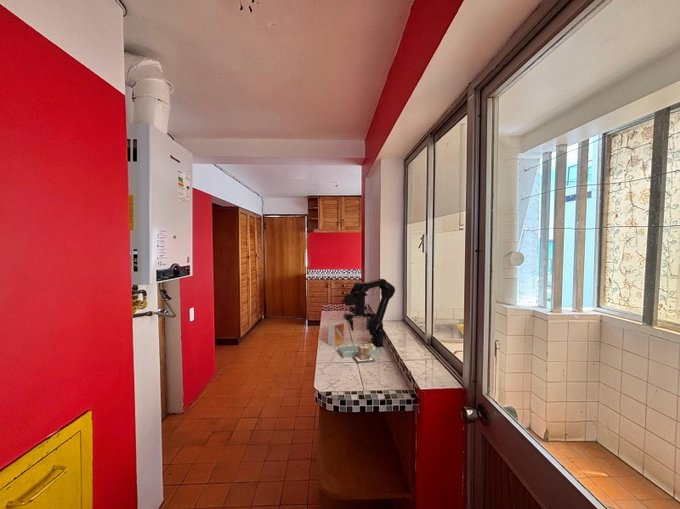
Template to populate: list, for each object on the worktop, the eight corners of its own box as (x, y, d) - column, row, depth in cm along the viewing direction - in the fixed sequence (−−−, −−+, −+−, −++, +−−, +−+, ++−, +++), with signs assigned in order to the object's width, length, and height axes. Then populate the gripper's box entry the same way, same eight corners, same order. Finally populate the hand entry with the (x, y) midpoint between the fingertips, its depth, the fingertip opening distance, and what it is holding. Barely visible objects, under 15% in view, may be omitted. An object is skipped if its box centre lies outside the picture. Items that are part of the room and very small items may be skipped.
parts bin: (372, 348, 185) (372, 344, 185) (379, 354, 175) (379, 349, 175) (337, 351, 179) (337, 347, 179) (343, 357, 168) (343, 353, 168)
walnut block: (366, 356, 168) (366, 345, 168) (369, 359, 164) (369, 348, 164) (357, 357, 167) (358, 346, 167) (361, 360, 162) (361, 348, 162)
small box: (334, 346, 188) (334, 325, 188) (327, 344, 193) (327, 323, 192) (343, 343, 194) (344, 323, 193) (337, 341, 198) (337, 321, 198)
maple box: (372, 350, 182) (372, 343, 182) (375, 354, 176) (375, 347, 176) (363, 350, 182) (364, 343, 182) (366, 354, 175) (367, 347, 175)
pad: (369, 356, 171) (369, 355, 171) (375, 361, 163) (375, 359, 163) (352, 358, 168) (352, 356, 168) (357, 363, 160) (357, 361, 160)
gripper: (369, 301, 190) (369, 326, 191) (340, 302, 185) (340, 328, 185) (376, 304, 180) (376, 330, 180) (346, 305, 174) (346, 333, 175)
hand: (359, 330), depth 180 cm, fingers open, 9 cm apart
